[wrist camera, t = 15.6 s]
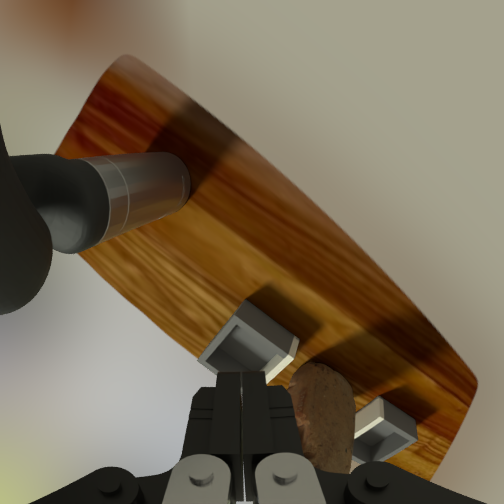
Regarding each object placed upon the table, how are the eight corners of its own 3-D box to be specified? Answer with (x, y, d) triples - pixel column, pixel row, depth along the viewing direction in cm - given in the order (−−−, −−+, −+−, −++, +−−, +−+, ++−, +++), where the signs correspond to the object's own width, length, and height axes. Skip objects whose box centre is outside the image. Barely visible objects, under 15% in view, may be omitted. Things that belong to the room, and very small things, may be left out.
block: (360, 393, 46) (354, 496, 28) (322, 410, 49) (303, 508, 30) (322, 349, 45) (302, 455, 27) (284, 370, 48) (248, 469, 30)
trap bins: (209, 343, 51) (196, 360, 46) (245, 298, 46) (234, 314, 42) (370, 449, 49) (369, 468, 44) (415, 419, 45) (417, 440, 40)
